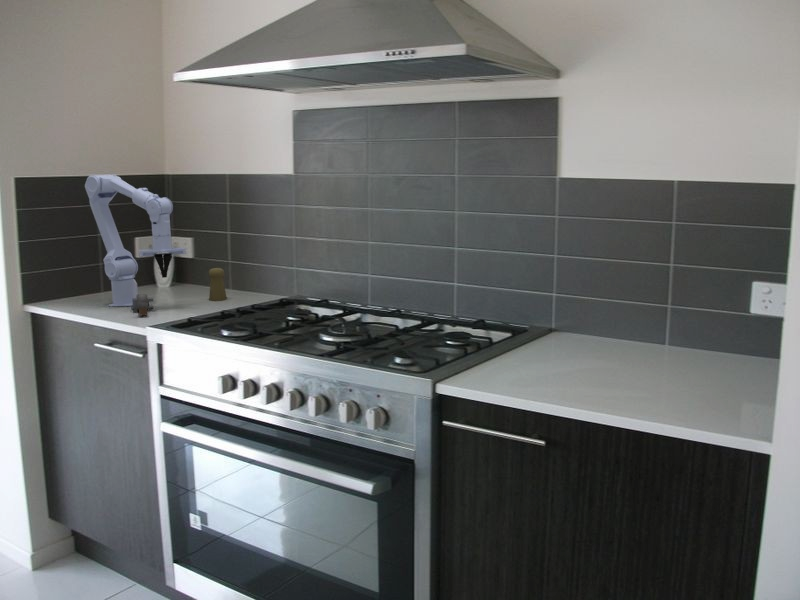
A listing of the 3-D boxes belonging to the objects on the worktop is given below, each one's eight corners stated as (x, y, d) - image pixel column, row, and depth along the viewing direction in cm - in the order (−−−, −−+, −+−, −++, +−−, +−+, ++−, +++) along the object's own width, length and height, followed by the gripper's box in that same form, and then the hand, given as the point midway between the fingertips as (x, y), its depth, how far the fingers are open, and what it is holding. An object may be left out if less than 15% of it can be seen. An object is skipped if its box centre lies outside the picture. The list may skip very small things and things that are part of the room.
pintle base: (135, 306, 266) (134, 293, 265) (156, 306, 266) (155, 293, 265) (128, 310, 259) (127, 297, 259) (149, 310, 259) (148, 297, 258)
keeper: (133, 311, 258) (132, 298, 258) (153, 309, 260) (153, 297, 260) (133, 312, 256) (132, 299, 255) (154, 311, 258) (153, 298, 257)
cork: (216, 301, 274) (215, 269, 272) (205, 300, 277) (203, 268, 275) (230, 299, 278) (228, 267, 276) (219, 297, 282) (217, 266, 280)
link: (135, 305, 264) (133, 287, 263) (149, 304, 265) (147, 286, 264) (135, 315, 247) (134, 296, 246) (150, 314, 248) (149, 295, 247)
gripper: (138, 237, 252) (141, 280, 254) (186, 235, 257) (188, 277, 259) (137, 235, 259) (140, 277, 261) (183, 233, 264) (186, 274, 266)
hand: (164, 277), depth 261 cm, fingers closed
